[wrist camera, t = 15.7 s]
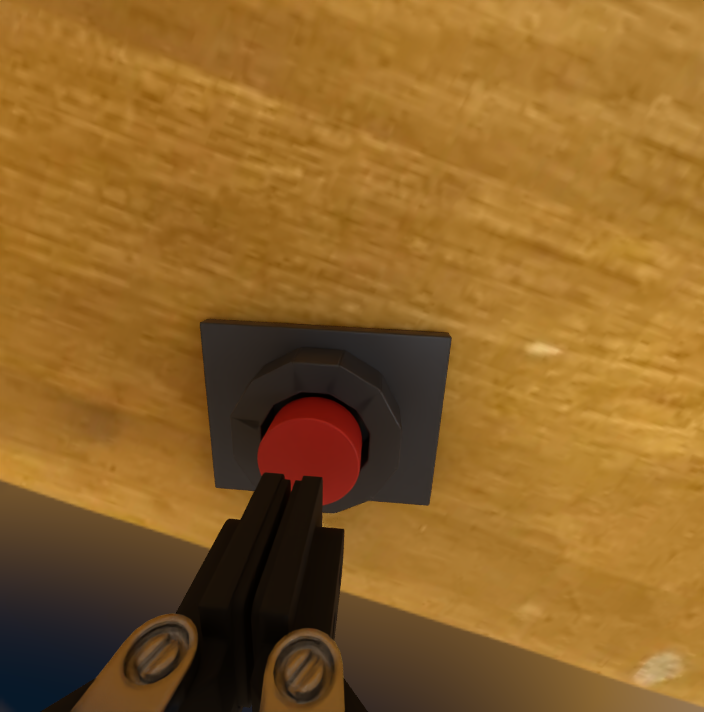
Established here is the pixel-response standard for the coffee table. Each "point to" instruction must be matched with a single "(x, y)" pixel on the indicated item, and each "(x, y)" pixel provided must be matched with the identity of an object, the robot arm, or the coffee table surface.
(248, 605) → the robot arm
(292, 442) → the button
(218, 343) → the button block
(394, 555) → the coffee table surface
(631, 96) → the coffee table surface
